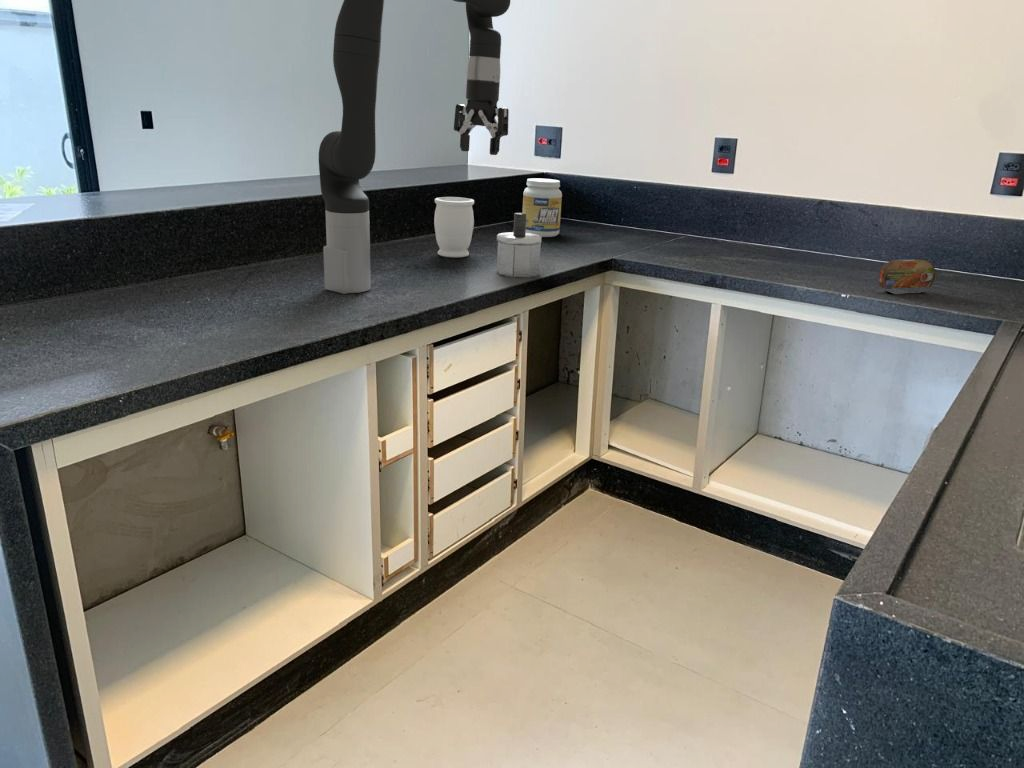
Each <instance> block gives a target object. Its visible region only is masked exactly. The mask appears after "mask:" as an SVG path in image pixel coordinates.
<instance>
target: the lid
mask: <svg viewBox="0 0 1024 768" xmlns="http://www.w3.org/2000/svg"><path fill="white" fill-rule="evenodd" d="M526 215H527V214H526V213H522V212H515V213H514V214H513V231H511V232H509V231H508V232H501V233H500V232H499V233H498V234H496V242H497V243H498V242H500V243H504V244H510V245H537V244H540V243H541V244H542V238H543V237H541V236H539V235H536V234H531V233H526Z"/></svg>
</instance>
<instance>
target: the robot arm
mask: <svg viewBox="0 0 1024 768" xmlns="http://www.w3.org/2000/svg"><path fill="white" fill-rule="evenodd" d="M452 1H453V2H457V3H465V13H466V14H465V15H466V19H467V25H468V27H467V28H468V31H469V37H470V39H469V52H468V55H469V56H468V62H467V70H466V89H465V90H466V91H465V98H466V100H467V103H466V104H459V103H458V104H455V110H454V120H453V121H454V122H453V131H455V132H458V133H459V134H460V141H459V142H460V143H459V147H460V150H461V151H462V152H469V151H470V141H471V138H470V137H471V136H470V133H471V132H472V131H473V129H474V128H476V127H477V126H480V127H485V128H486V130H487V131H488V132H489V134H490V136H491V137H490V139H489V140H490V141H489V155H490V156H497V155H498V153H499V151H500V144H501V138H502V137H505V136H509V135H508V134H509V108H507V107H498V102H499V100H500V98H499V97H500V87H501V86H500V83H501V54H502V53H501V51H502V35H501V34H500V32H499V31H497V30H496V29H494V26H493V25H494V23H493V18H498V17H500V16H503V15H504V14H505V13H506V12H507V11H508V10H509V8H510V5H511V0H452ZM384 7H385V0H343V1H342V5H341V8H340V10H339V13H338V16H337V20H336V24H335V26H334V27H335V28H334V38H333V39H334V40H333V51H332V52H333V53H332V54H333V55H332V60H333V61H332V63H333V69H334V75H335V78H336V81H337V85H338V89H339V92H340V97H341V103H342V118H341V130H337V131H332V132H329V133H327V134H326V135H325V136H324V137H323V138H322V140H321V142H320V144H319V150H318V170H319V183H320V193H321V196H322V199H323V201H324V205H325V208H324V209H325V230H326V231H325V233H326V236H325V237H326V245H324V246H323V249H322V251H323V253H322V254H323V273H324V274H323V276H324V277H323V278H324V289H325V290H327V291H331V292H335V293H339V294H344V295H345V294H355V293H357V294H358V293H364V292H367V291H370V289H371V288H372V287H371V286H372V285H371V237H370V235H371V234H370V199H369V197H368V196H367V195H366V194H365V192H364V191H363V189H362V188H361V185H360V180H362V179H364V178H366V177H368V176H369V174H370V173H371V172H372V170H373V167H374V165H375V161H376V154H377V153H376V152H377V151H376V149H377V147H376V143H377V142H376V107H377V106H376V105H377V95H378V94H377V91H378V80H379V79H378V76H379V67H380V58H381V49H382V46H381V45H382V32H383V31H382V29H383V28H382V27H383V19H384ZM466 115H467V116H466ZM496 117H497V118H496Z"/></svg>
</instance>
